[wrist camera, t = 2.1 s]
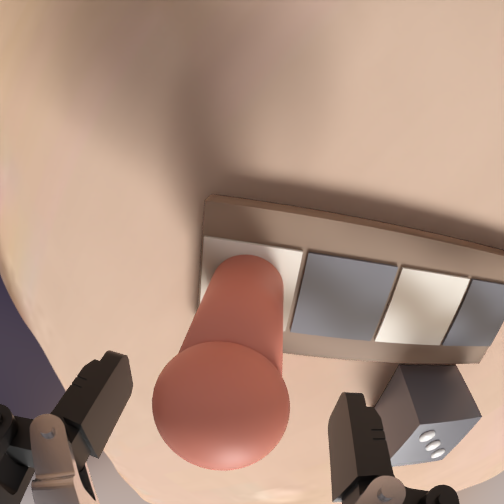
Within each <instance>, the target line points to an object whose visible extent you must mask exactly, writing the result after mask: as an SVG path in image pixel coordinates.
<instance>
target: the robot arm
mask: <svg viewBox="0 0 504 504" xmlns="http://www.w3.org/2000/svg"><path fill="white" fill-rule="evenodd" d="M132 388H133V381H132V376H131V370H130V365H129V359H128V357H127V355H123V354H120V353H116V352H113V351H107V352H106V353H105V354H104V356H103V357H102V359H101V360H100V361H98V360H95V359H94V360H93V361H91V362H90V363H88V364H87V365H85V366H84V367H83V368H82V370H81V371H80V373H79V374H78V375H77V378H75V380H74V381H73V382H72V385H70V387H69V388H68V389H67V391H66V392H65V394H64V395H63V397H62V398H61V400H60V401H59V403H58V404H57V405H56V407H55V409H54V410H53V411H52V412H51V413H50V414H43V415H40V416H38V417H36V418H35V419H28V418H23V417H18V416H13V414H12V413H11V411H10V410H9V408H8V407H6V406H4V405H1V404H0V504H20V502H21V500H22V498H23V496H24V493H25V491H26V489H27V487H28V485H29V483H30V480H31V478H32V476H33V474H34V472H35V475H36V479H35V480H33V481H32V483H31V488H32V493H33V498H34V502H35V504H100V503H99V500H98V497H97V494H96V491H95V489H94V486H93V483H92V479H91V476H90V473H89V469H88V466H87V463H86V461H87V459H88V457H89V455H91V456H94V457H96V458H99V457H100V455H101V453H102V451H103V449H104V447H105V445H106V443H107V441H108V439H109V437H110V435H111V433H112V431H113V429H114V427H115V425H116V423H117V421H118V419H119V417H120V415H121V413H122V411H123V409H124V407H125V405H126V403H127V401H128V400H129V398H130V396H131V393H132ZM383 429H384V428H383V424H382V419H381V417H380V415H379V414H378V413H377V411H376V410H375V408H374V407H366V403H365V398H364V395H363V394H362V393H346V392H343V393H342V394H341V396H340V398H339V400H338V402H337V404H336V406H335V408H334V410H333V412H332V414H331V416H330V419H329V423H328V437H329V450H330V465H331V482H332V502H342V504H459V499H458V496H457V493H456V492H455V490H454V489H453V488H451V487H450V486H447V485H438V486H436V487H434V488H432V489H431V490H430V491H424V490H417V489H411V488H407V487H405V486H404V485H403V483H402V482H401V481H400V480H399V479H397V478H395V476H394V474H393V470H392V465H391V460H390V455H389V450H388V446H387V441H386V440H385V439H386V437H385V432H384V431H383Z"/></svg>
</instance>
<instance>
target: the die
mask: <svg viewBox="0 0 504 504" xmlns="http://www.w3.org/2000/svg"><path fill="white" fill-rule="evenodd" d="M374 408H375V410H376V411H377V413H378V414H379V415H380V417H381V419H382V424H383V428H384V429H383V431H384V432H385V437H386V439H385V440H386V441H387V446H388V450H389V455H390V460H391V465H392V467H393V466H403V465H411V464H418V463H425V462H431V461H437V460H442V459H443V458H444V457H445V456H446V455H447V454H448V453H449V452H450V451H451V450H452V449H453V448H454V447H455V446H456V445H457V444H458V443H459V442H460V441H461V440H462V439H463V438H464V437H465V436H466V434H467V433H468V432H469V431H470V430H471V429H472V428H473V427H474V425H475V424H476V423H477V422H478V421H479V420H480V418H481V417H482V416H481V413H480V411H479V409H478V407H477V405H476V403H475V401H474V399H473V397H472V395H471V393H470V391H469V389H468V387H467V385H466V383H465V381H464V379H463V377H462V375H461V373H460V372H459V370H458V368H457V366H456V365H444V366H436V365H399V366H398V368H397V369H396V371H395V373H394V375H393V377H392V379H391V380H390V382H389V384H388V386H387V387H386V389H385V391H384V393H383V394H382V396H381V398H380V399H379V401H378V403H377V404H376V406H375V407H374Z"/></svg>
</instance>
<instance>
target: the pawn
mask: <svg viewBox="0 0 504 504" xmlns="http://www.w3.org/2000/svg"><path fill="white" fill-rule="evenodd" d="M283 301H284V285H283V280H282V277H281V275H280V273H279V272H278V270H277V269H276V268H275V267H274V266H273V265H272V264H271V263H270V262H268V261H267V260H265V259H263V258H261V257H258V256H254V255H236V256H233V257H230V258H228V259H226V260H225V261H223V262H222V263H221V264H220V265H219V266H218V267H217V269H216V270H215V272H214V274H213V276H212V278H211V281H210V283H209V285H208V287H207V290H206V292H205V294H204V296H203V298H202V301H201V303H200V305H199V307H198V310H197V312H196V314H195V316H194V319H193V321H192V323H191V326H190V328H189V330H188V332H187V335H186V337H185V339H184V342H183V344H182V346H181V348H180V351H179V353H178V354H177V355H176V356H175V357H174V358H173V359H172V360H170V361H169V363H168V364H167V365H166V366H165V367H164V369H163V370H162V372H161V373H160V375H159V377H158V379H157V382H156V384H155V387H154V392H153V398H152V410H153V416H154V421H155V424H156V426H157V429H158V431H159V433H160V435H161V437H162V438H163V440H164V441H165V443H166V444H167V445H168V446H169V447H170V448H171V449H172V450H173V451H174V452H175V453H176V454H177V455H179V456H180V457H181V458H183V459H184V460H186V461H188V462H190V463H192V464H194V465H197V466H199V467H202V468H206V469H211V470H234V469H239V468H243V467H246V466H249V465H251V464H253V463H256V462H257V461H259V460H261V459H262V458H264V457H265V456H266V455H268V454H269V453H270V452H271V451H272V450H273V449H274V448H275V447H276V445H277V444H278V443H279V441H280V440H281V438H282V436H283V434H284V432H285V430H286V427H287V424H288V420H289V413H290V401H289V395H288V391H287V387H286V385H285V382H284V380H283V378H282V356H283Z"/></svg>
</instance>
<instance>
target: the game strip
mask: <svg viewBox="0 0 504 504" xmlns="http://www.w3.org/2000/svg"><path fill="white" fill-rule="evenodd" d="M236 255H254V256H258V257H261V258H263V259H265V260H267V261H268V262H270V263H271V264H272V265H273V266H274V267H275V268H276V269H277V270H278V272H279V273H280V275H281V277H282V280H283V285H284V301H283V353H288V354H296V355H304V356H313V357H323V358H333V359H344V360H356V361H371V362H389V363H416V364H470V363H480V361H481V359H482V358H483V356H484V354H485V353H486V351H487V349H488V348H489V346H490V345H491V344H492V342H493V340H494V338H495V337H496V335H497V333H498V331H499V329H500V327H501V325H502V323H503V321H504V250H500V249H497V248H493V247H489V246H485V245H481V244H477V243H473V242H469V241H465V240H461V239H457V238H452V237H448V236H444V235H440V234H435V233H431V232H426V231H422V230H417V229H413V228H408V227H403V226H398V225H394V224H389V223H384V222H379V221H374V220H369V219H363V218H358V217H353V216H348V215H342V214H337V213H331V212H325V211H320V210H314V209H308V208H302V207H296V206H290V205H283V204H277V203H270V202H264V201H257V200H250V199H243V198H236V197H228V196H221V195H213V194H211V195H210V196H209V197H208V198H207V199H206V200H205V204H204V217H203V230H202V245H201V261H200V279H199V300H198V307H199V305H200V303H201V301H202V298H203V296H204V294H205V292H206V290H207V287H208V285H209V283H210V281H211V278H212V276H213V274H214V272H215V270H216V269H217V267H218V266H219V265H220V264H221V263H222V262H223V261H225V260H226V259H228V258H230V257H233V256H236Z"/></svg>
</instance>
